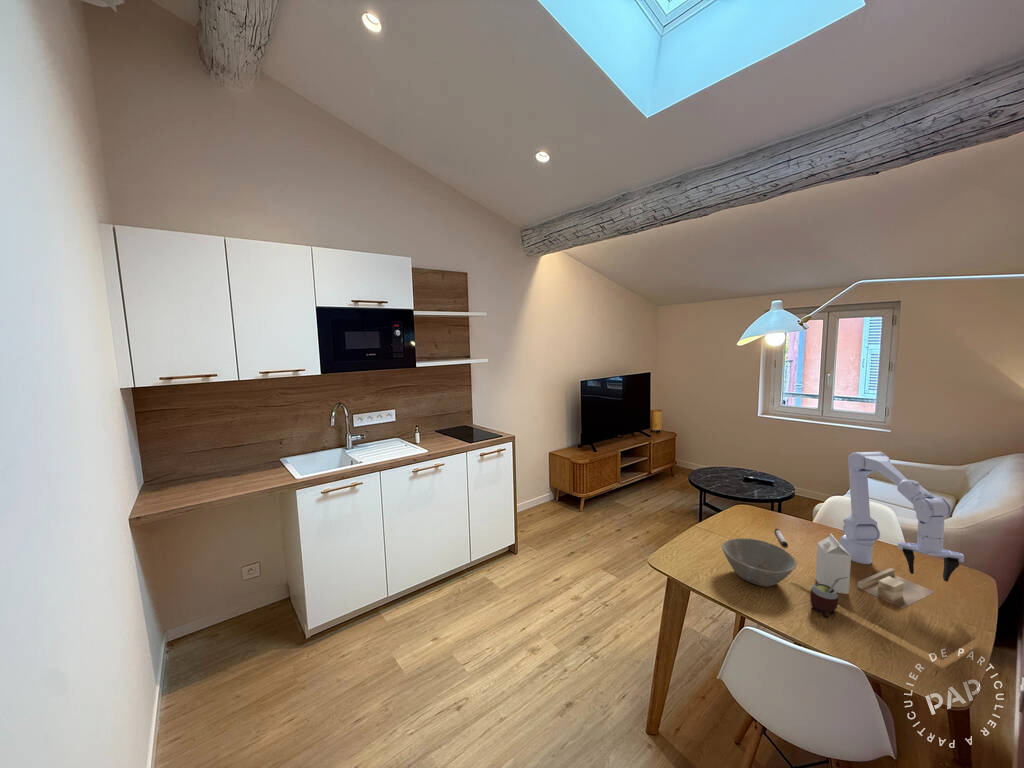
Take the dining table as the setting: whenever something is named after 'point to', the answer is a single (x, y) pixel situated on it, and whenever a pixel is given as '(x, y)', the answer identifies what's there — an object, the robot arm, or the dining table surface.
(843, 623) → the dining table surface
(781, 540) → the marker
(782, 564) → the ceramic bowl
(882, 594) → the block
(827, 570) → the milk carton
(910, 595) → the pale wooden board
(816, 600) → the mate gourd
